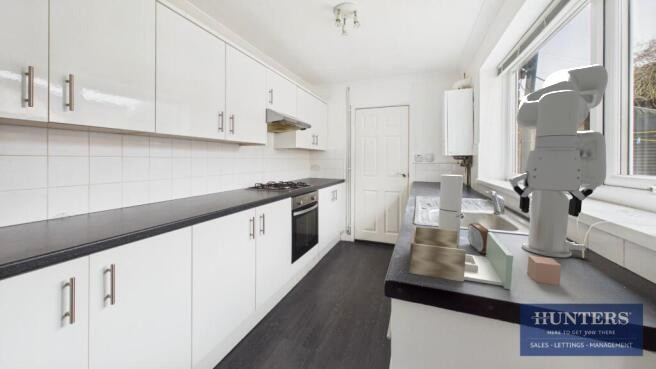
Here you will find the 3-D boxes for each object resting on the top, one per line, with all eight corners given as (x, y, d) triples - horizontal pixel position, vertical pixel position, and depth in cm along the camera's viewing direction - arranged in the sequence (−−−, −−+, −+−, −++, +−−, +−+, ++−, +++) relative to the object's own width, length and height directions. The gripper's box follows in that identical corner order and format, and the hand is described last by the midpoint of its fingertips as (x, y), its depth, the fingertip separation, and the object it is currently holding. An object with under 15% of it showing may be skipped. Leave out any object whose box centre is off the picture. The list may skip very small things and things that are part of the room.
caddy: (456, 255, 81) (457, 230, 80) (463, 281, 63) (465, 250, 62) (413, 249, 86) (414, 226, 85) (409, 272, 68) (410, 243, 67)
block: (550, 276, 66) (552, 258, 66) (559, 285, 62) (561, 265, 61) (527, 273, 68) (528, 255, 68) (534, 281, 63) (535, 262, 63)
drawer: (490, 258, 78) (492, 232, 77) (510, 289, 59) (513, 255, 58) (442, 252, 83) (443, 227, 82) (446, 279, 64) (448, 248, 63)
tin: (492, 258, 79) (494, 231, 78) (481, 257, 80) (483, 231, 79) (474, 243, 94) (476, 220, 93) (465, 242, 94) (466, 220, 94)
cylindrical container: (434, 240, 96) (437, 174, 94) (453, 240, 96) (457, 174, 94) (442, 246, 89) (446, 175, 87) (463, 246, 89) (467, 175, 87)
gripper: (591, 145, 62) (584, 214, 63) (507, 146, 68) (503, 208, 70) (612, 142, 55) (604, 220, 56) (516, 143, 61) (511, 213, 63)
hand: (548, 213), depth 63 cm, fingers open, 9 cm apart
